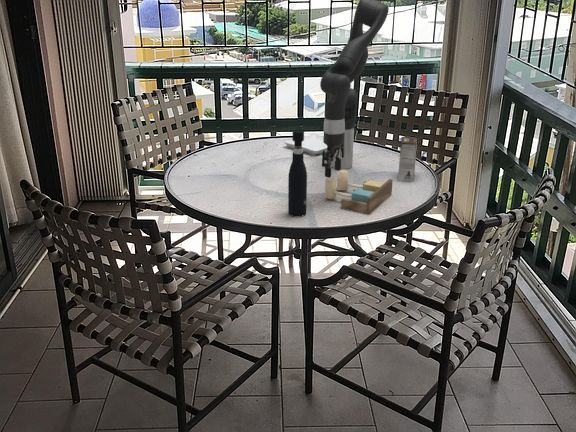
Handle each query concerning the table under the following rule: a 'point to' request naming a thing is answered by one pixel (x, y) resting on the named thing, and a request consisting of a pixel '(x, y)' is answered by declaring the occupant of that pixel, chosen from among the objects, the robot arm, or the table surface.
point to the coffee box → (407, 158)
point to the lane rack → (369, 199)
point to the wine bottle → (297, 178)
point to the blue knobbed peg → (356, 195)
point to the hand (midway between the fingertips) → (332, 173)
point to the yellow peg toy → (343, 184)
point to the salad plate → (310, 144)
